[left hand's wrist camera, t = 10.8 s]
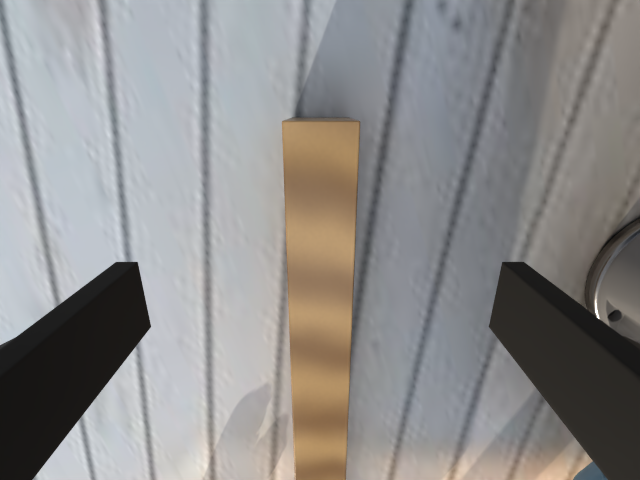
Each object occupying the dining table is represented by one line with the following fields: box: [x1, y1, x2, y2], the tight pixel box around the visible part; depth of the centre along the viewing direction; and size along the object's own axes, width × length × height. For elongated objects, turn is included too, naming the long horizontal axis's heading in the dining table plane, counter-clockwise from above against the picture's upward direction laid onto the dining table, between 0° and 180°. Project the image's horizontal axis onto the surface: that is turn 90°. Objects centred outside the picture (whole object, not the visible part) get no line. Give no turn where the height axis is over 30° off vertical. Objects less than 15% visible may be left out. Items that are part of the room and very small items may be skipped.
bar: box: [282, 118, 360, 480], centre depth 40 cm, size 78×5×8 cm, turn 0°
